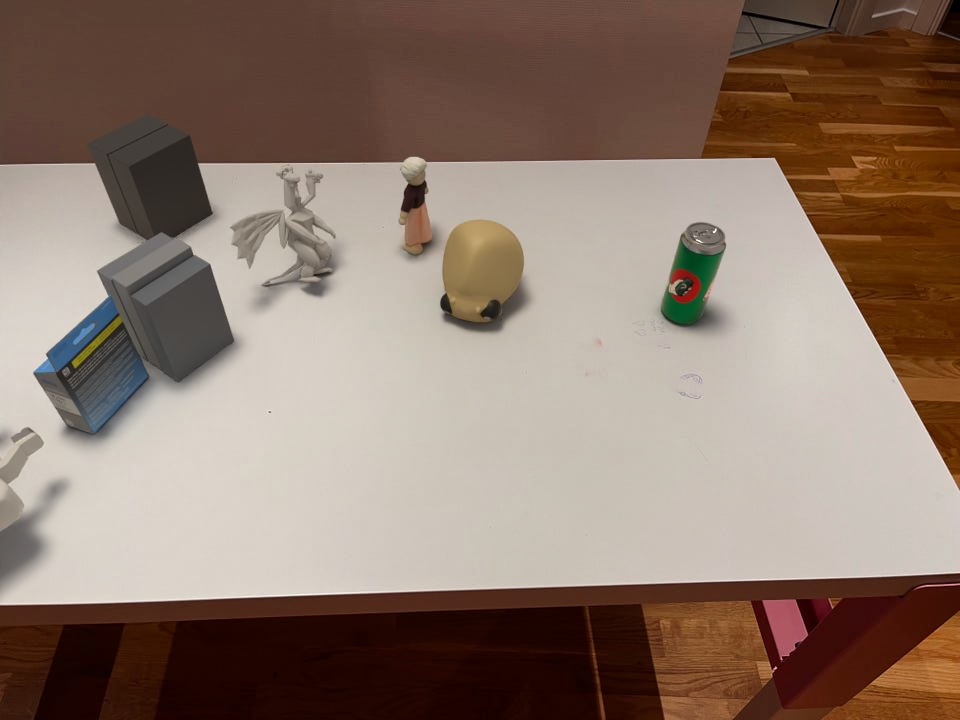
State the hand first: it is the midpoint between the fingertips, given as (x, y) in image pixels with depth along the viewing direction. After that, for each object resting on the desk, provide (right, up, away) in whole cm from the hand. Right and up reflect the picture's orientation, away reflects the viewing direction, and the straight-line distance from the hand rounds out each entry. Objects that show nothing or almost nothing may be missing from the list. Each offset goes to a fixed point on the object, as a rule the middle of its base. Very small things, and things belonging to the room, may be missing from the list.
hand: (7, 410), depth 69 cm
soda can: (+69, +10, +21) cm, 73 cm away
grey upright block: (+11, +6, +15) cm, 19 cm away
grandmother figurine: (+36, +20, +29) cm, 51 cm away
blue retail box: (+5, 0, +10) cm, 11 cm away
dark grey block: (+2, +24, +31) cm, 39 cm away
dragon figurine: (+22, +16, +25) cm, 37 cm away
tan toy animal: (+44, +12, +22) cm, 51 cm away
